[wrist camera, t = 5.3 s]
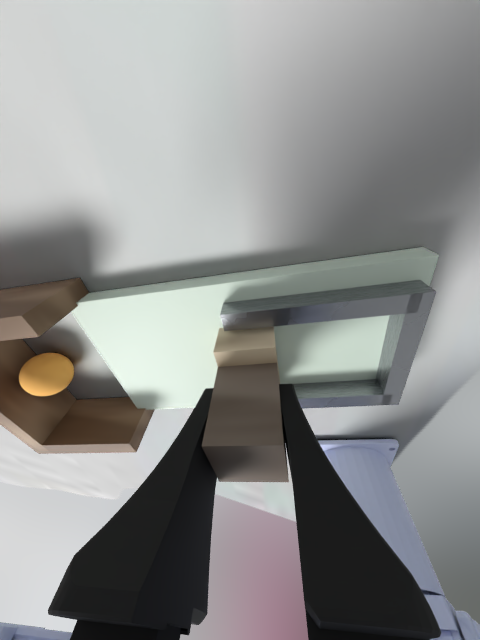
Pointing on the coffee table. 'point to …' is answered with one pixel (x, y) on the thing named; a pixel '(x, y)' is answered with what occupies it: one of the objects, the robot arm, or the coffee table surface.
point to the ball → (46, 374)
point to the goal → (62, 408)
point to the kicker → (246, 409)
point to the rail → (350, 303)
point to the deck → (204, 322)
